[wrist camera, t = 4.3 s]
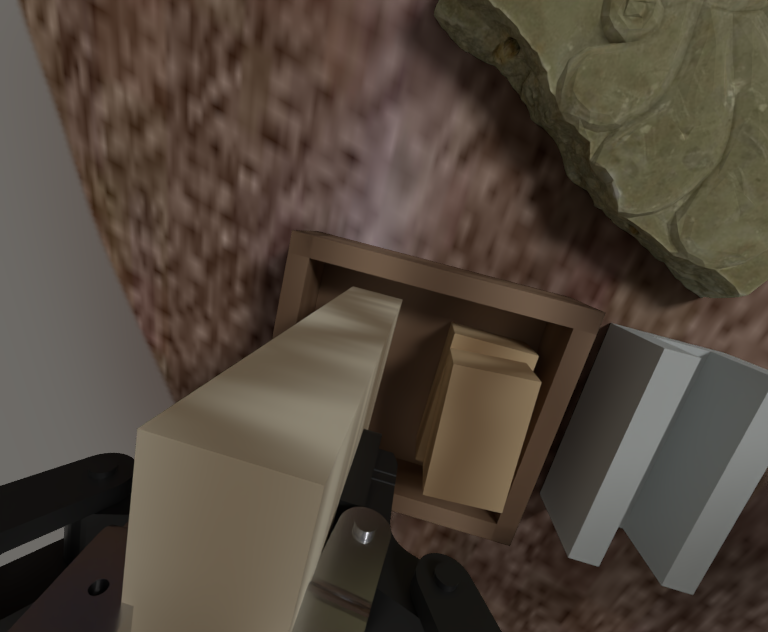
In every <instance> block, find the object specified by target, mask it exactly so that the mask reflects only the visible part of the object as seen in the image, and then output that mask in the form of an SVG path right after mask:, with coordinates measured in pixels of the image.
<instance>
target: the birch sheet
mask: <svg viewBox="0 0 768 632" xmlns="http://www.w3.org/2000/svg"><path fill="white" fill-rule="evenodd" d="M401 304H402V299H399V298H395V297H391V296H387V295H384V294H380V293H376V292H372V291H369V290H365V289H361V288H358V287H354V286H353V287H351V288H350V289H348V290H347V291H345V292H344V293H342V294H341V295H339V296H338V297H336V298H335V299H333V300H332V301H330V302H329V303H327V304H325V305H324V306H322V307H321V308H319V309H318V310H316V311H315V312H313V313H312V314H310V315H309V316H307V317H306V318H304V319H303V320H301V321H300V322H298V323H297V324H295V325H294V326H292V327H291V328H289V329H288V330H286V331H285V332H283V333H282V334H280V335H279V336H277V337H275V338H274V339H272V340H271V341H269V342H268V343H266V344H265V345H263V346H262V347H260V348H259V349H257V350H256V351H254V352H253V353H251V354H250V355H248V356H247V357H245V358H244V359H242V360H241V361H239V362H238V363H236V364H235V365H233V366H232V367H230V368H228V369H227V370H225V371H224V372H222V373H221V374H219V375H218V376H216V377H215V378H213V379H212V380H210V381H209V382H207V383H206V384H204V385H203V386H201V387H200V388H198V389H197V390H195V391H194V392H192V393H191V394H189V395H188V396H186V397H185V398H183V399H182V400H180V401H178V402H177V403H175V404H174V405H172V406H171V407H169V408H168V409H166V410H165V411H163V412H162V413H160V414H159V415H157V416H156V417H154V418H153V419H151V420H150V421H148V422H147V423H145V424H144V425H142V426H141V427H139V428H138V429H137V440H136V450H135V460H134V471H133V482H132V493H131V503H130V514H129V525H128V536H127V546H126V557H125V568H124V579H123V589H122V600H121V602H123V603H126V604H128V605H131V606H134V608H133V617H132V627H131V632H292V629H293V627H294V624H295V621H296V618H297V615H298V612H299V609H300V606H301V604H302V601H303V598H304V595H305V592H306V589H307V587H308V584H309V582H310V581H312V578H313V575H314V572H315V569H316V566H317V563H318V560H319V558H320V556H321V554H322V552H323V550H324V548H325V546H326V544H327V542H328V540H329V538H330V535H331V531H332V527H333V523H334V519H335V515H336V511H337V508H338V504H339V500H340V497H341V494H342V491H343V488H344V485H345V482H346V479H347V476H348V473H349V470H350V467H351V465H352V462H353V459H354V456H355V453H356V450H357V447H358V444H359V441H360V438H361V435H362V432H363V429H367V430H368V428H369V425H370V421H371V417H372V413H373V410H374V406H375V402H376V398H377V394H378V391H379V387H380V383H381V379H382V376H383V372H384V368H385V364H386V361H387V357H388V353H389V349H390V345H391V342H392V338H393V334H394V330H395V327H396V323H397V319H398V315H399V312H400V308H401Z"/></svg>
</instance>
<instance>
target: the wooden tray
mask: <svg viewBox="0 0 768 632" xmlns="http://www.w3.org/2000/svg"><path fill="white" fill-rule="evenodd" d="M353 286H354V287H358V288H361V289H365V290H369V291H372V292H376V293H380V294H384V295H387V296H391V297H395V298H399V299H402V304H401V308H400V312H399V315H398V319H397V323H396V327H395V330H394V334H393V338H392V342H391V345H390V349H389V353H388V357H387V361H386V364H385V368H384V372H383V376H382V379H381V383H380V387H379V391H378V394H377V398H376V402H375V406H374V410H373V413H372V417H371V421H370V425H369V428H368V430H370V431H374V432H377V433H381V434H382V437H381V441H380V445H379V449H382V450H385V451H388V452H392V453H393V454H394V456H395V458H396V461H397V463H398V467H397V474H396V482H395V489H394V496H393V503H392V511H395V512H398V513H401V514H405V515H408V516H411V517H415V518H418V519H421V520H425V521H428V522H431V523H435V524H438V525H441V526H445V527H448V528H451V529H455V530H458V531H461V532H465V533H468V534H471V535H475V536H478V537H481V538H485V539H488V540H491V541H495V542H498V543H501V544H505V545H508V546H510V545H511V542H512V540H513V537H514V535H515V533H516V530H517V528H518V525H519V523H520V520H521V518H522V516H523V513H524V511H525V508H526V506H527V503H528V501H529V498H530V496H531V494H532V491H533V489H534V486H535V484H536V481H537V479H538V476H539V474H540V472H541V469H542V467H543V464H544V462H545V459H546V457H547V455H548V452H549V450H550V447H551V445H552V442H553V440H554V437H555V435H556V433H557V430H558V428H559V425H560V423H561V420H562V418H563V416H564V413H565V411H566V408H567V406H568V403H569V401H570V398H571V396H572V394H573V391H574V389H575V386H576V384H577V381H578V379H579V377H580V374H581V372H582V369H583V367H584V364H585V362H586V359H587V357H588V355H589V352H590V350H591V347H592V345H593V342H594V340H595V338H596V335H597V333H598V330H599V328H600V325H601V323H602V320H603V318H604V316H605V312H603V311H600V310H598V309H596V308H593V307H591V306H589V305H586V304H584V303H582V302H579V301H577V300H575V299H572V298H570V297H566V296H563V295H559V294H555V293H551V292H547V291H544V290H540V289H536V288H532V287H528V286H525V285H521V284H517V283H513V282H509V281H505V280H502V279H498V278H494V277H490V276H486V275H483V274H479V273H475V272H471V271H467V270H464V269H460V268H456V267H452V266H448V265H445V264H441V263H437V262H433V261H429V260H425V259H422V258H418V257H414V256H410V255H406V254H403V253H399V252H395V251H391V250H387V249H384V248H380V247H376V246H372V245H368V244H365V243H361V242H357V241H353V240H349V239H346V238H342V237H338V236H334V235H330V234H326V233H323V232H319V231H298V230H292V234H291V239H290V245H289V250H288V256H287V261H286V266H285V272H284V277H283V283H282V288H281V293H280V299H279V304H278V310H277V315H276V320H275V326H274V331H273V336H272V339H274V338H275V337H277V336H279V335H280V334H282V333H283V332H285V331H286V330H288V329H289V328H291V327H292V326H294V325H295V324H297V323H298V322H300V321H301V320H303V319H304V318H306V317H307V316H309V315H310V314H312V313H313V312H315V311H316V310H318V309H319V308H321V307H322V306H324V305H325V304H327V303H329V302H330V301H332V300H333V299H335V298H336V297H338V296H339V295H341V294H342V293H344V292H345V291H347V290H348V289H350V288H351V287H353ZM451 322H454V323H457V324H461V325H465V326H468V327H472V328H476V329H480V330H483V331H487V332H491V333H494V334H498V335H502V336H505V337H509V338H513V339H516V340H520V341H524V342H526V343H527V344H528V345H529V346H530V347H531V348H532V349H533V350H534V351H535V352H536V353H537V355H538V356H539V357H538V360H537V363H536V365H535V368H534V371H533V372H534V373H535V375H536V376H537V377H538V378H539V380H540V381H541V382H542V383H541V386H540V389H539V393H538V396H537V399H536V402H535V406H534V409H533V412H532V416H531V419H530V422H529V426H528V429H527V432H526V436H525V439H524V442H523V446H522V449H521V452H520V456H519V459H518V462H517V466H516V469H515V472H514V475H513V479H512V482H511V485H510V489H509V492H508V495H507V499H506V502H505V505H504V509H503V512H502V513H498V512H494V511H489V510H485V509H481V508H477V507H472V506H468V505H464V504H459V503H455V502H451V501H447V500H442V499H438V498H434V497H429V496H425V495H423V462H421V461H418V460H416V437H417V433H418V430H419V426H420V423H421V420H422V416H423V413H424V410H425V407H426V403H427V400H428V397H429V394H430V390H431V387H432V384H433V381H434V377H435V374H436V371H437V368H438V364H439V361H440V358H441V355H442V351H443V348H444V345H445V341H446V338H447V335H448V332H449V328H450V325H451Z"/></svg>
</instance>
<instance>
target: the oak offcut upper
mask: <svg viewBox="0 0 768 632" xmlns="http://www.w3.org/2000/svg"><path fill="white" fill-rule="evenodd" d="M541 383H542V382H541V381H540V380H539V378H538V377H537V376H536V375H535V373H534V372H533V371H532V370H531V368H530V367H529V366H528V364H527V363H524V362H519V361H514V360H509V359H504V358H499V357H494V356H489V355H484V354H479V353H475V352H470V351H465V350H460V349H455V348H450V350H449V354H448V358H447V363H446V367H445V371H444V376H443V380H442V384H441V389H440V393H439V397H438V401H437V406H436V410H435V414H434V419H433V423H432V427H431V432H430V436H429V440H428V444H427V449H426V453H425V457H424V462H423V495H425V496H429V497H434V498H438V499H442V500H447V501H451V502H455V503H459V504H464V505H468V506H472V507H477V508H481V509H485V510H489V511H494V512H498V513H502V512H503V509H504V505H505V502H506V499H507V495H508V492H509V489H510V485H511V482H512V479H513V475H514V472H515V469H516V466H517V462H518V459H519V456H520V452H521V449H522V446H523V442H524V439H525V436H526V432H527V429H528V426H529V422H530V419H531V416H532V412H533V409H534V406H535V402H536V399H537V396H538V393H539V389H540V386H541Z"/></svg>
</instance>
